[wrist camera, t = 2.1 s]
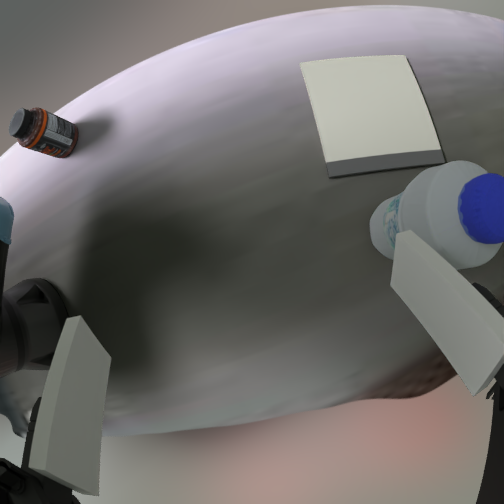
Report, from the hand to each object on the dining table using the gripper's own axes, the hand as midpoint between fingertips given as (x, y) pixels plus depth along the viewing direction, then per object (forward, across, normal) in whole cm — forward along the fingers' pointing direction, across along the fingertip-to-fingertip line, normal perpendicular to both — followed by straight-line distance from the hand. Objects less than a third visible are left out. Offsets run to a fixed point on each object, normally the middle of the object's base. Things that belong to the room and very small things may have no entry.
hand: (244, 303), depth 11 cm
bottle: (+14, +17, -9) cm, 24 cm away
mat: (+22, +19, +3) cm, 29 cm away
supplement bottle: (+37, -22, +7) cm, 44 cm away
